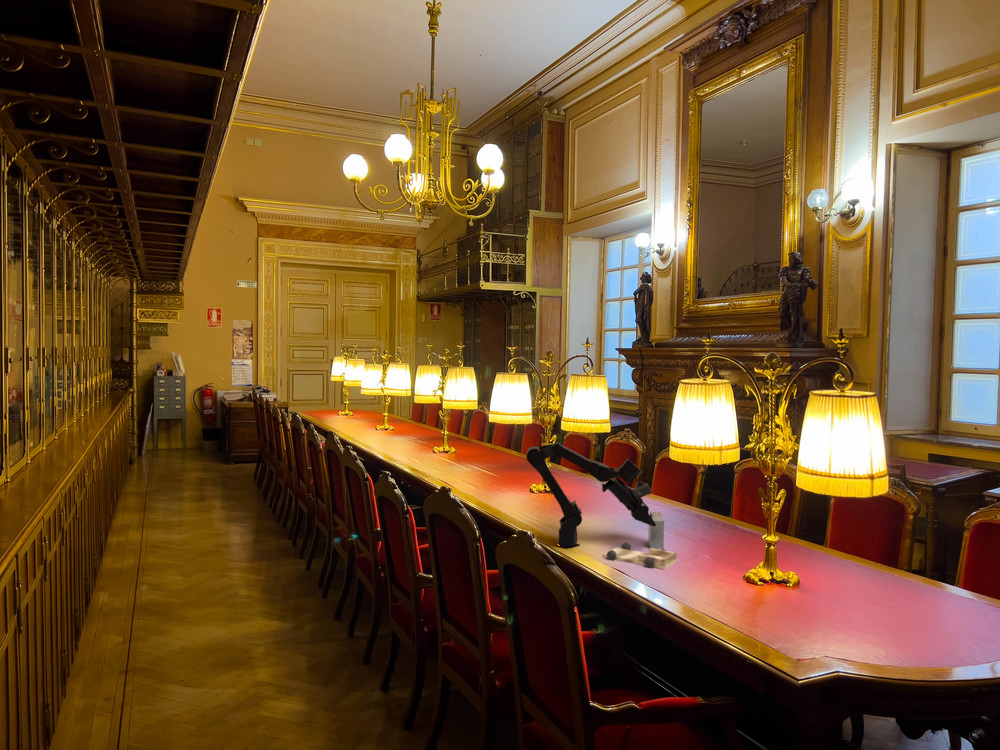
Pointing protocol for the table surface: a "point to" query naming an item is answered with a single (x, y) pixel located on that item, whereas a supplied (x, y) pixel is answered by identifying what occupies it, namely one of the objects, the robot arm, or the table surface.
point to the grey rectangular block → (656, 531)
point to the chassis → (642, 556)
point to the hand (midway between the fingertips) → (652, 522)
